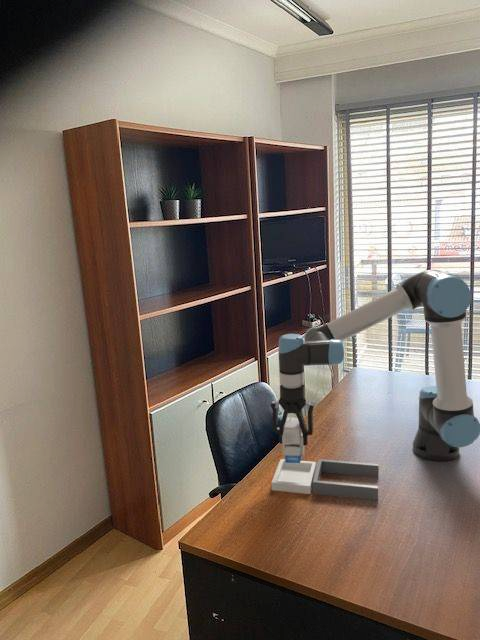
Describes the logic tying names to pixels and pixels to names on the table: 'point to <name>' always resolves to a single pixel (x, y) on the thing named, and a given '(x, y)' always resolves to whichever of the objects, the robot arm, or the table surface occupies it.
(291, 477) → the tray
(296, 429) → the ink box
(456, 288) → the robot arm
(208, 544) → the table surface
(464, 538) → the table surface
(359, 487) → the bay
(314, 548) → the table surface
